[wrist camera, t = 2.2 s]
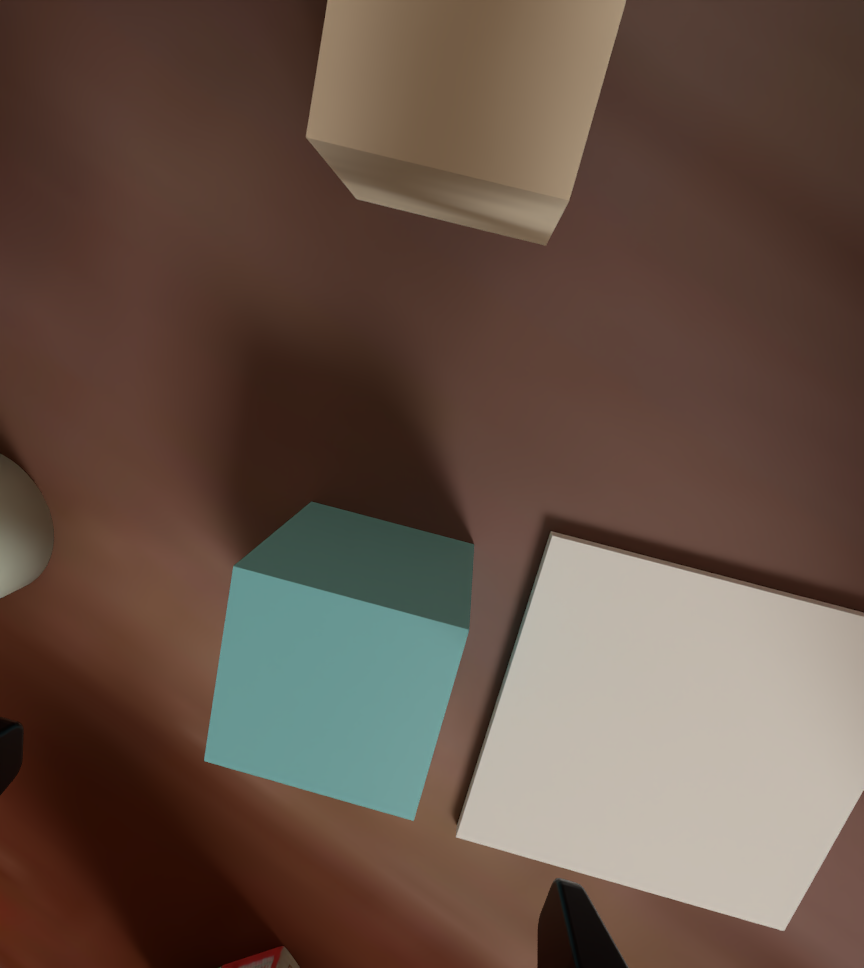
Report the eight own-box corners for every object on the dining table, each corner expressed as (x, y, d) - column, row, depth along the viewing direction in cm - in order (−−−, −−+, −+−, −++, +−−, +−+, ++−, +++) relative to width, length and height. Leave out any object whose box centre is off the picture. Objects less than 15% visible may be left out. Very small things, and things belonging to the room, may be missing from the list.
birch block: (608, 19, 12) (667, -144, 8) (545, 246, 13) (569, 200, 9) (400, -28, 12) (360, -208, 8) (358, 200, 13) (305, 137, 10)
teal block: (474, 543, 15) (469, 629, 10) (434, 685, 17) (413, 820, 12) (312, 500, 15) (233, 566, 11) (285, 644, 17) (204, 760, 12)
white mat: (936, 631, 14) (948, 639, 14) (777, 918, 17) (783, 931, 17) (550, 530, 15) (552, 535, 14) (456, 826, 18) (455, 837, 17)
